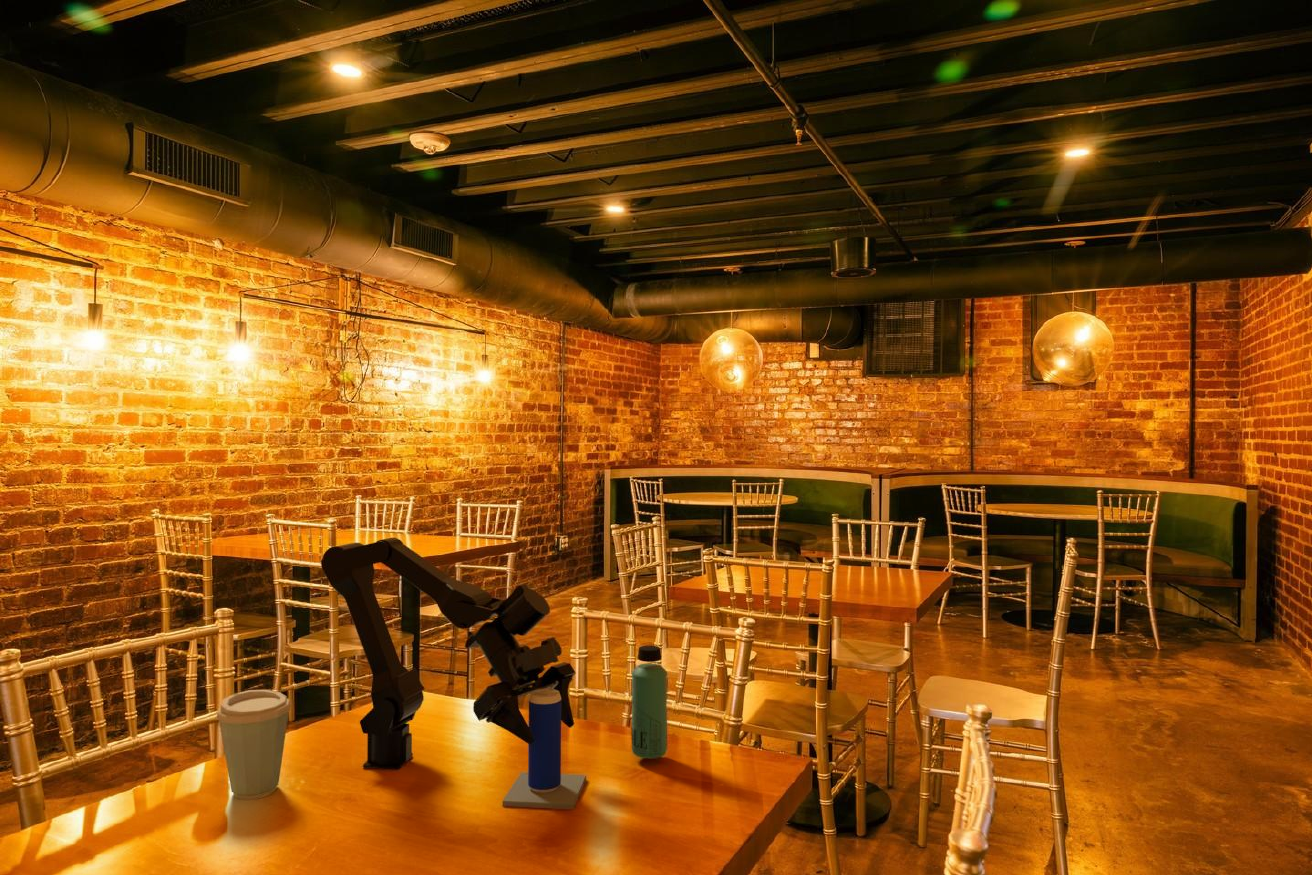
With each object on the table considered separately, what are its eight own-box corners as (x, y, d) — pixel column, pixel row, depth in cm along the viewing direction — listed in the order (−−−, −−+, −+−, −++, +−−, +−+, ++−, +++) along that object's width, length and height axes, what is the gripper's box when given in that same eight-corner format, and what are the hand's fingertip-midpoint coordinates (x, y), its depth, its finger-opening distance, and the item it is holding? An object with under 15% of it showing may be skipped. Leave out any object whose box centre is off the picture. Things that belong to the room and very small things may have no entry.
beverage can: (563, 781, 132) (564, 688, 132) (556, 794, 127) (557, 698, 127) (532, 779, 133) (533, 687, 133) (524, 793, 128) (525, 697, 128)
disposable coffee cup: (305, 785, 132) (306, 692, 132) (247, 812, 122) (248, 712, 122) (259, 773, 136) (260, 684, 136) (199, 799, 127) (200, 702, 127)
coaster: (502, 805, 125) (502, 800, 125) (521, 776, 136) (521, 772, 136) (573, 809, 124) (573, 804, 124) (586, 779, 135) (586, 775, 135)
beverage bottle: (672, 755, 145) (673, 643, 146) (660, 769, 139) (661, 652, 139) (638, 751, 148) (639, 640, 148) (624, 764, 141) (625, 649, 141)
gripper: (486, 634, 125) (538, 721, 118) (567, 614, 140) (617, 690, 133) (451, 677, 129) (499, 763, 123) (533, 653, 144) (580, 728, 138)
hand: (552, 734), depth 129 cm, fingers open, 9 cm apart
